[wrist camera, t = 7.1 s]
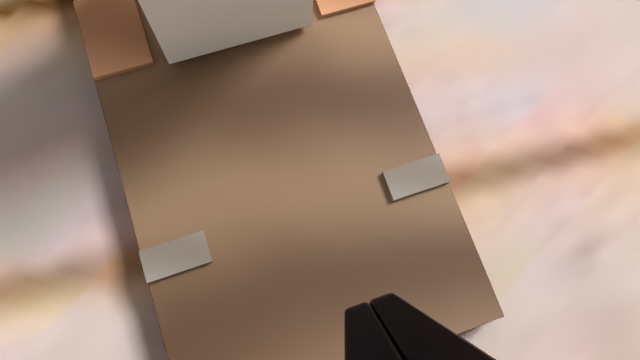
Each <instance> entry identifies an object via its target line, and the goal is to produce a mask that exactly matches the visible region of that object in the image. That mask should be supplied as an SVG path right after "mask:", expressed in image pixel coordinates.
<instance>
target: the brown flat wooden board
mask: <svg viewBox="0 0 640 360" xmlns="http://www.w3.org/2000/svg"><path fill="white" fill-rule="evenodd" d="M374 2H375V0H313V9H312V22H311V25H309V26H306V27H302V28H298V29H295V30H291V31H288V32H284V33H280V34H277V35H273V36H270V37H266V38H262V39H259V40H255V41H252V42H248V43H244V44H241V45H237V46H234V47H230V48H226V49H223V50H219V51H216V52H212V53H208V54H205V55H201V56H198V57H194V58H190V59H187V60H183V61H179V62H176V63H172V64H169V63H168V61H167V59H166V57H165V55H164V53H163V51H162V49H161V47H160V44H159V42H158V40H157V38H156V36H155V34H154V32H153V30H152V28H151V26H150V24H149V22H148V20H147V18H146V16H145V14H144V12H143V10H142V8H141V6H140V4H139V1H138V0H74V1H73V4H74V8H75V12H76V15H77V19H78V23H79V27H80V31H81V35H82V38H83V42H84V46H85V50H86V54H87V57H88V61H89V65H90V69H91V73H92V76H93V79H94V80H95V82H96V86H97V90H98V93H99V97H100V101H101V105H102V109H103V112H104V116H105V120H106V124H107V128H108V131H109V135H110V139H111V143H112V147H113V150H114V154H115V158H116V162H117V166H118V169H119V173H120V177H121V181H122V185H123V188H124V192H125V196H126V200H127V204H128V207H129V211H130V215H131V219H132V223H133V226H134V230H135V234H136V238H137V242H138V246H139V249H140V251H138V252H139V256H140V260H141V263H142V267H143V271H144V275H145V279H146V282H147V283H148V284H149V287H150V291H151V295H152V299H153V303H154V306H155V310H156V314H157V318H158V322H159V325H160V329H161V333H162V337H163V341H164V344H165V348H166V352H167V356H168V360H345V349H344V312H345V310H346V309H347V308H349V307H352V306H354V305H357V304H360V303H363V302H368V303H370V301H371V300H372V299H374V298H376V297H379V296H382V295H385V294H387V293H394V294H396V295H398V296H399V297H401V298H402V299H404V300H405V301H407V302H408V303H410V304H411V305H413V306H415V307H416V308H418V309H419V310H421V311H422V312H424V313H425V314H427V315H428V316H430V317H431V318H433V319H434V320H436V321H438V322H439V323H441V324H442V325H444V326H445V327H447V328H448V329H450V330H451V331H453V332H454V333H456V334H459V333H462V332H464V331H467V330H470V329H472V328H475V327H478V326H480V325H483V324H485V323H488V322H491V321H493V320H496V319H499V318H501V317H504V315H503V312H502V310H501V307H500V305H499V303H498V300H497V298H496V295H495V293H494V291H493V288H492V286H491V283H490V281H489V279H488V276H487V274H486V271H485V269H484V267H483V264H482V262H481V259H480V257H479V255H478V252H477V250H476V247H475V245H474V243H473V240H472V238H471V235H470V233H469V231H468V228H467V226H466V223H465V221H464V219H463V216H462V214H461V211H460V209H459V207H458V204H457V202H456V199H455V197H454V195H453V192H452V190H451V187H450V185H449V182H450V179H449V177H448V174H447V172H446V170H445V167H444V165H443V162H442V160H441V158H440V155H439V154H436V152H435V149H434V147H433V144H432V142H431V140H430V137H429V135H428V132H427V130H426V128H425V125H424V123H423V120H422V118H421V116H420V113H419V111H418V108H417V106H416V104H415V101H414V99H413V96H412V94H411V92H410V89H409V87H408V84H407V82H406V80H405V77H404V75H403V72H402V70H401V68H400V65H399V63H398V60H397V58H396V56H395V53H394V51H393V48H392V46H391V44H390V41H389V39H388V36H387V34H386V32H385V29H384V27H383V24H382V22H381V20H380V17H379V15H378V12H377V10H376V8H375V5H374Z"/></svg>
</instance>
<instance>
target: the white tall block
mask: <svg viewBox="0 0 640 360" xmlns="http://www.w3.org/2000/svg"><path fill="white" fill-rule="evenodd" d="M138 1H139V4H140V6H141V8H142V10H143V12H144V14H145V16H146V18H147V20H148V22H149V24H150V26H151V28H152V30H153V32H154V34H155V36H156V38H157V40H158V42H159V44H160V47H161V49H162V51H163V53H164V55H165V57H166V59H167V61H168V63H169V64H172V63H176V62H179V61H183V60H187V59H190V58H194V57H198V56H201V55H205V54H208V53H212V52H216V51H219V50H223V49H226V48H230V47H234V46H237V45H241V44H244V43H248V42H252V41H255V40H259V39H262V38H266V37H270V36H273V35H277V34H280V33H284V32H288V31H291V30H295V29H298V28H302V27H306V26H309V25H311V22H312V9H313V0H138Z"/></svg>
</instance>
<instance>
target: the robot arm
mask: <svg viewBox="0 0 640 360" xmlns="http://www.w3.org/2000/svg"><path fill="white" fill-rule="evenodd" d="M344 349H345V360H496V359H494V358H493V357H491V356H490V355H488V354H487V353H485V352H483V351H482V350H480V349H479V348H477V347H476V346H474V345H473V344H471V343H470V342H468V341H467V340H465V339H464V338H462V337H461V336H459V335H457V334H456V333H454V332H453V331H451V330H450V329H448V328H447V327H445V326H444V325H442V324H441V323H439V322H438V321H436V320H434V319H433V318H431V317H430V316H428V315H427V314H425V313H424V312H422V311H421V310H419V309H418V308H416V307H415V306H413V305H411V304H410V303H408V302H407V301H405V300H404V299H402V298H401V297H399V296H398V295H396V294H394V293H387V294H385V295H382V296H379V297H376V298H374V299H372V300H371V301H370V303H368V302H363V303H360V304H357V305H354V306H352V307H349V308H347V309H346V310H345V312H344Z"/></svg>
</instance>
